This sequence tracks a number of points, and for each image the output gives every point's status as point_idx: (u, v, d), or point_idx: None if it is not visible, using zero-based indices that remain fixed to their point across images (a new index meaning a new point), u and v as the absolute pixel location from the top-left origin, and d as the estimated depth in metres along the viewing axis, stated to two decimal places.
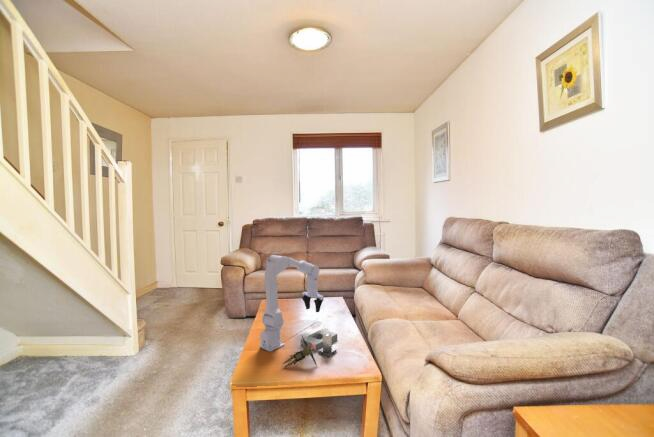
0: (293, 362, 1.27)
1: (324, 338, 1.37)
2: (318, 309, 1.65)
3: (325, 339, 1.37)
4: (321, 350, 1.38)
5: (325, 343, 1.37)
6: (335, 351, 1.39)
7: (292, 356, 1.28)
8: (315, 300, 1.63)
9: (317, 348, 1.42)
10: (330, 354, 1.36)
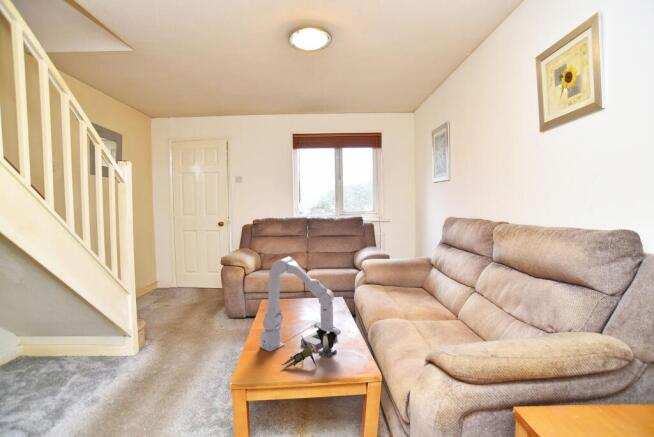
0: (293, 363, 1.26)
1: (324, 338, 1.37)
2: (331, 344, 1.37)
3: (325, 339, 1.37)
4: (321, 350, 1.38)
5: (325, 343, 1.37)
6: (335, 351, 1.39)
7: (292, 357, 1.27)
8: (328, 334, 1.34)
9: (317, 348, 1.42)
10: (330, 354, 1.36)
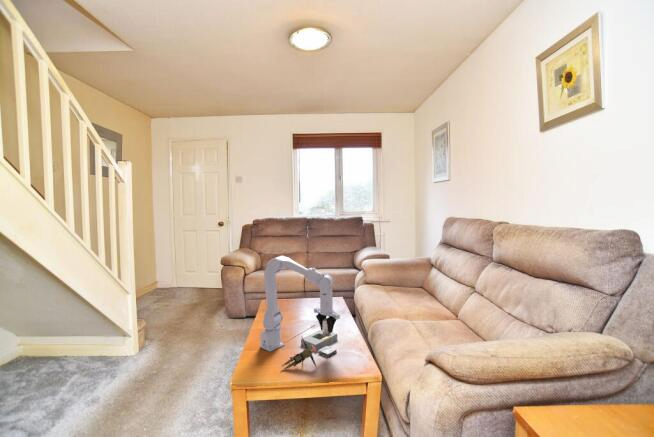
0: (293, 364, 1.25)
1: (323, 323, 1.37)
2: (331, 329, 1.37)
3: (324, 324, 1.37)
4: (321, 350, 1.38)
5: (324, 328, 1.37)
6: (335, 351, 1.39)
7: (292, 358, 1.26)
8: (327, 319, 1.34)
9: (317, 348, 1.42)
10: (330, 354, 1.36)
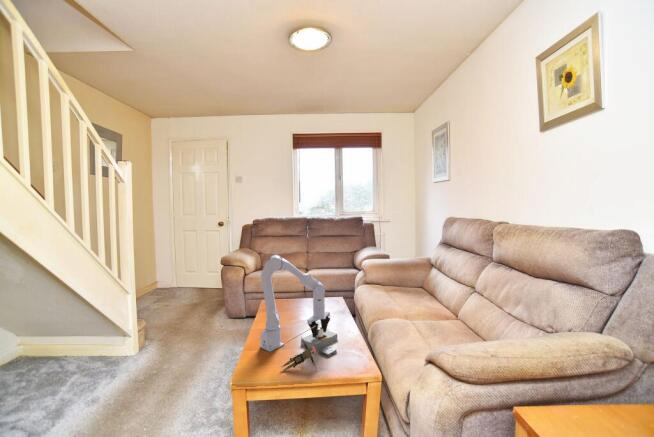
0: (292, 365, 1.24)
1: None
2: (313, 333, 1.47)
3: None
4: (321, 350, 1.38)
5: None
6: (335, 351, 1.39)
7: (292, 359, 1.26)
8: None
9: (317, 348, 1.42)
10: (330, 354, 1.36)
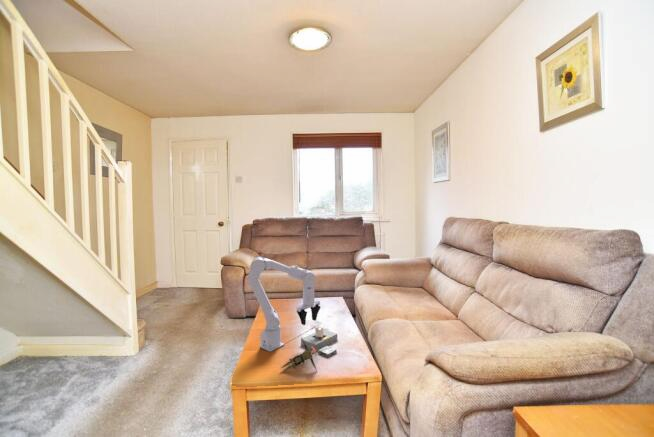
0: (292, 366, 1.24)
1: None
2: (302, 321, 1.47)
3: None
4: (321, 350, 1.38)
5: None
6: (335, 351, 1.39)
7: (291, 359, 1.25)
8: None
9: (317, 348, 1.42)
10: (330, 354, 1.36)
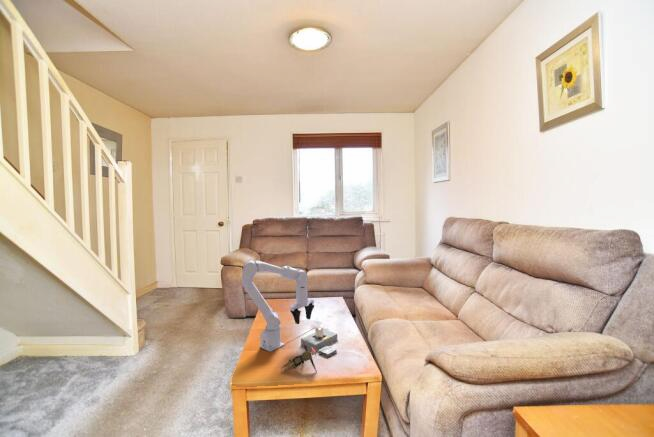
0: (292, 366, 1.23)
1: None
2: (296, 321, 1.48)
3: None
4: (321, 350, 1.38)
5: None
6: (335, 351, 1.39)
7: (291, 360, 1.24)
8: None
9: (317, 348, 1.42)
10: (330, 354, 1.36)
